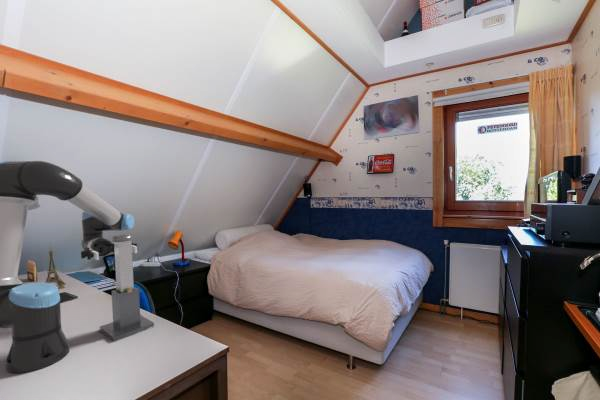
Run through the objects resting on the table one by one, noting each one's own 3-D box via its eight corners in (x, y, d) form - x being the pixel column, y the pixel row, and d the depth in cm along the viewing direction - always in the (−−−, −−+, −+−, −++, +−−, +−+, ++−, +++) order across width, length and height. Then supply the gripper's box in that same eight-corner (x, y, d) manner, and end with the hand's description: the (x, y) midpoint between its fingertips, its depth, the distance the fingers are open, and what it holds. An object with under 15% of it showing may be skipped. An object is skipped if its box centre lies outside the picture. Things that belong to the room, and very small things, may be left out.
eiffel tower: (39, 292, 158) (36, 245, 157) (41, 287, 167) (38, 243, 166) (64, 288, 164) (61, 243, 163) (65, 283, 173) (63, 240, 172)
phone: (64, 291, 156) (78, 296, 148) (64, 293, 156) (78, 298, 148) (45, 296, 149) (59, 301, 142) (46, 299, 149) (59, 304, 142)
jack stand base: (154, 326, 115) (152, 286, 114) (113, 341, 104) (111, 297, 104) (138, 317, 124) (136, 279, 123) (99, 330, 113) (97, 289, 112)
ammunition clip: (37, 281, 179) (36, 261, 178) (33, 281, 177) (32, 262, 177) (31, 278, 185) (30, 259, 184) (27, 279, 183) (26, 259, 183)
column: (138, 307, 114) (135, 235, 113) (120, 312, 109) (116, 238, 108) (131, 303, 118) (128, 234, 117) (113, 308, 113) (109, 236, 112)
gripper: (131, 250, 141) (150, 256, 127) (65, 261, 122) (80, 269, 108) (130, 234, 141) (149, 238, 127) (64, 242, 122) (78, 249, 108)
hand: (117, 252), depth 117 cm, fingers open, 13 cm apart
